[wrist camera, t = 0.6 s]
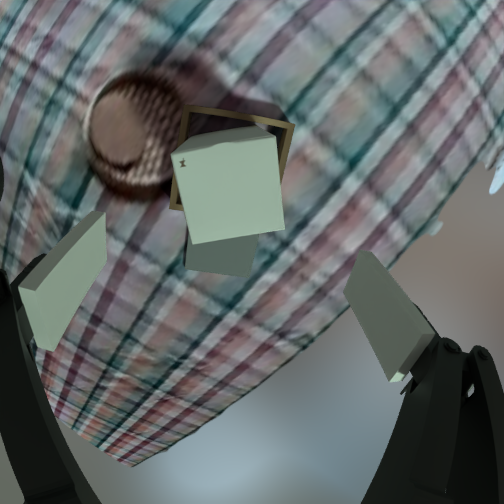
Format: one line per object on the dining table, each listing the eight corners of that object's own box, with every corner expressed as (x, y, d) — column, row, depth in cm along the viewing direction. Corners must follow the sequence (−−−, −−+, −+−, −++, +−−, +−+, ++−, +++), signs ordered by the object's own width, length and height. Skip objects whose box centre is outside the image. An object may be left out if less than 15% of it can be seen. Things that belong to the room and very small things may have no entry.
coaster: (185, 266, 45) (184, 268, 44) (192, 205, 40) (192, 207, 40) (248, 275, 46) (249, 277, 46) (262, 216, 42) (262, 218, 41)
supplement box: (202, 198, 40) (188, 247, 27) (190, 135, 36) (166, 152, 22) (267, 188, 40) (287, 232, 27) (259, 124, 35) (276, 133, 22)
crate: (173, 201, 40) (169, 208, 37) (187, 104, 33) (183, 104, 31) (268, 216, 42) (271, 224, 39) (290, 122, 36) (295, 124, 33)
